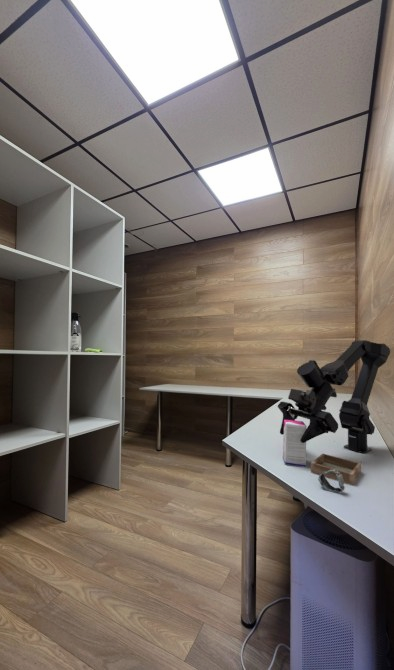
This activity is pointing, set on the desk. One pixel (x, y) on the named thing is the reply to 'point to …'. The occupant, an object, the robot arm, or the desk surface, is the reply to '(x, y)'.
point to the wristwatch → (327, 485)
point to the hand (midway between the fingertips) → (290, 437)
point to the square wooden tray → (336, 468)
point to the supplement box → (294, 443)
